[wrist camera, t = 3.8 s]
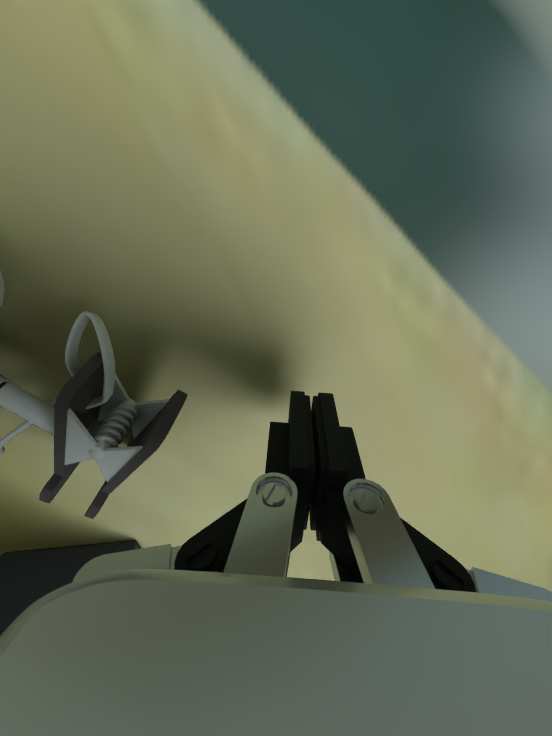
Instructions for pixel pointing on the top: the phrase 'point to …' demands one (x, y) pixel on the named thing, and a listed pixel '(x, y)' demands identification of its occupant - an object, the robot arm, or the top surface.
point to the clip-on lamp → (91, 416)
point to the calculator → (43, 574)
